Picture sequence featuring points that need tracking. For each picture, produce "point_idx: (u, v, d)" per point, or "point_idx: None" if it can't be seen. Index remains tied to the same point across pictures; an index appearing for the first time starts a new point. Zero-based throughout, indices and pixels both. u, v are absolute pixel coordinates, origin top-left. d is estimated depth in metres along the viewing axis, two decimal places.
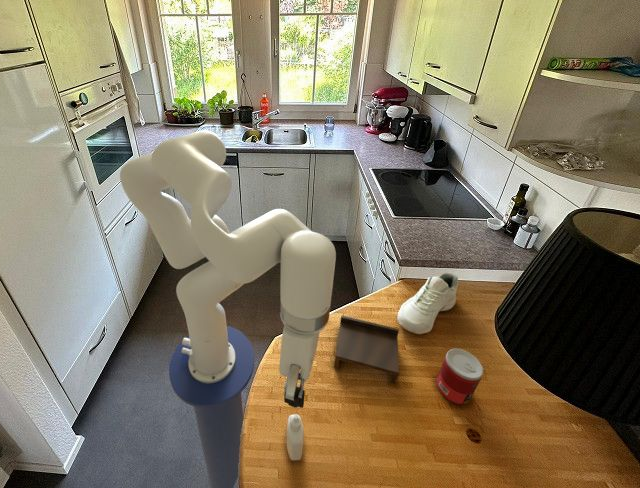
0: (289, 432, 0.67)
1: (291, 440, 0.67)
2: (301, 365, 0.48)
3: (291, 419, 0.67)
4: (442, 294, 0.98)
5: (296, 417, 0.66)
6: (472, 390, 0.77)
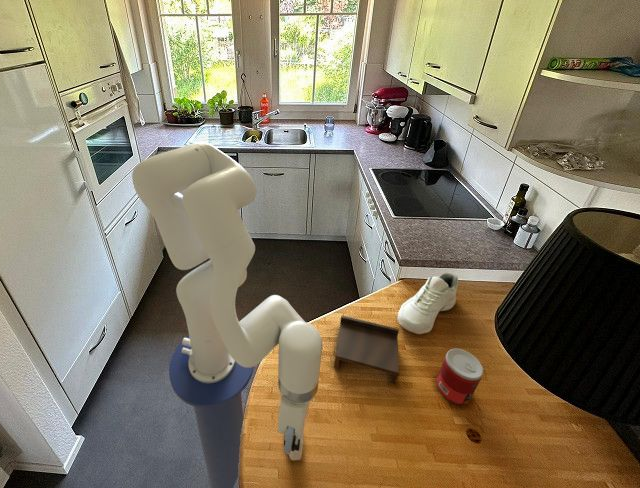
0: None
1: None
2: (295, 427, 0.59)
3: None
4: (442, 294, 0.98)
5: None
6: (472, 390, 0.77)
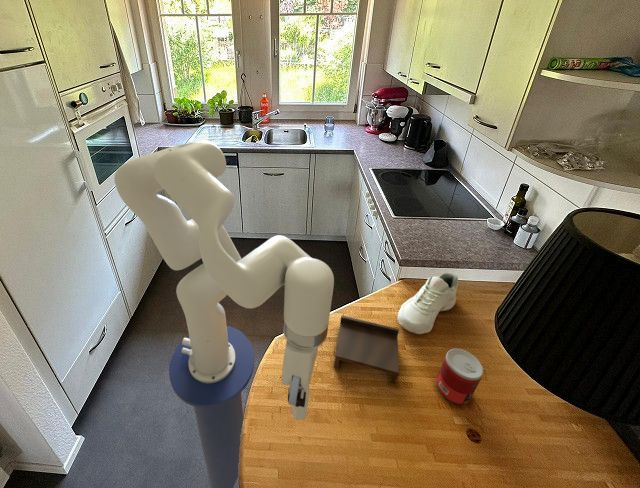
0: None
1: None
2: (301, 376, 0.53)
3: None
4: (443, 294, 0.98)
5: None
6: (472, 390, 0.77)
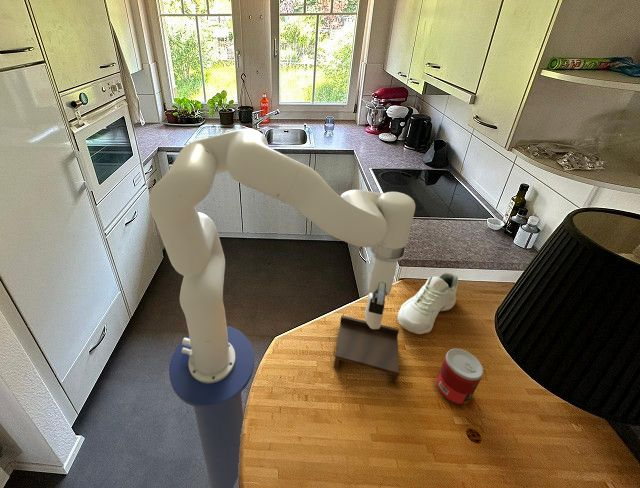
0: None
1: None
2: (386, 282, 0.71)
3: None
4: (443, 294, 0.98)
5: None
6: (472, 390, 0.77)
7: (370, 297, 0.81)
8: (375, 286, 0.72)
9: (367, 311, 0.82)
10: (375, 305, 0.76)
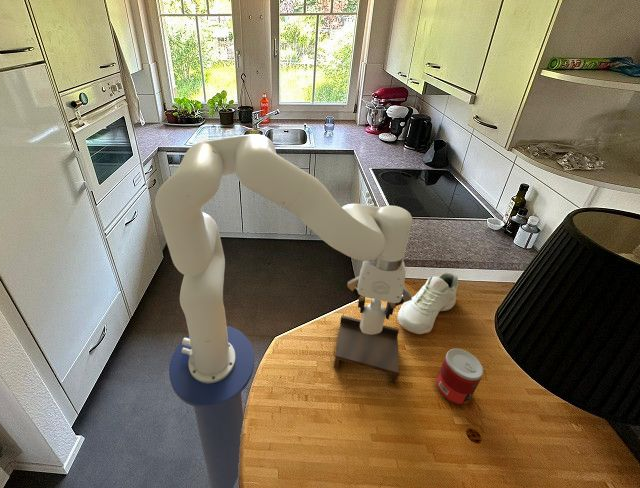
0: (380, 312, 0.81)
1: (384, 312, 0.82)
2: None
3: (377, 303, 0.80)
4: (443, 294, 0.98)
5: None
6: (472, 390, 0.77)
7: (374, 312, 0.81)
8: (402, 291, 0.76)
9: (374, 325, 0.83)
10: None
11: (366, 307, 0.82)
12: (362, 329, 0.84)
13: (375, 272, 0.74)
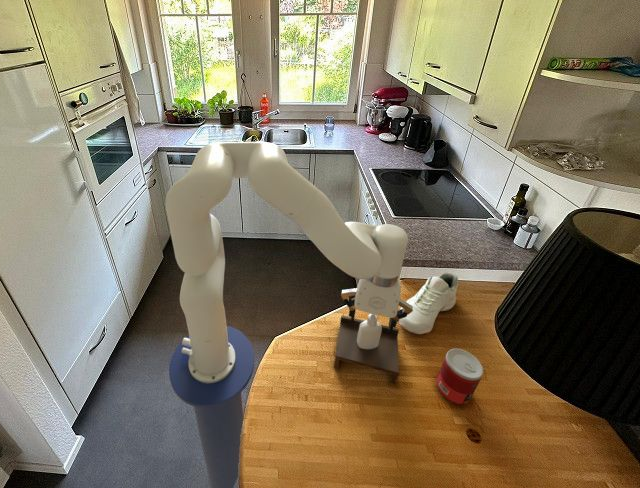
0: (376, 328, 0.84)
1: (380, 328, 0.84)
2: None
3: (373, 320, 0.83)
4: (443, 294, 0.98)
5: None
6: (472, 390, 0.77)
7: (371, 328, 0.84)
8: (398, 306, 0.78)
9: (370, 341, 0.86)
10: None
11: (363, 323, 0.85)
12: (359, 344, 0.87)
13: (372, 288, 0.76)
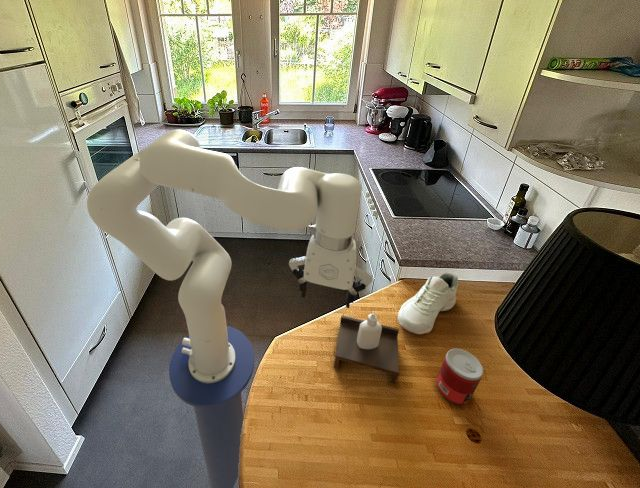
0: (376, 328, 0.84)
1: (380, 328, 0.84)
2: None
3: (373, 320, 0.83)
4: (443, 294, 0.98)
5: (373, 313, 0.83)
6: (472, 390, 0.77)
7: (371, 328, 0.84)
8: None
9: (370, 341, 0.86)
10: (354, 294, 0.68)
11: (363, 323, 0.85)
12: (359, 344, 0.87)
13: (321, 253, 0.63)
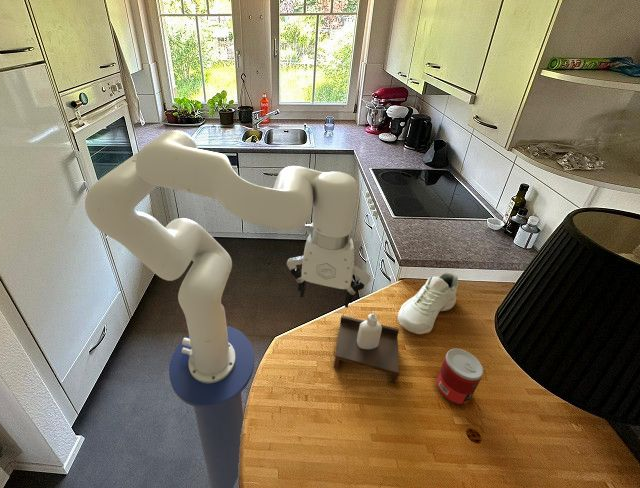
0: (376, 328, 0.84)
1: (380, 328, 0.84)
2: None
3: (373, 320, 0.83)
4: (443, 294, 0.98)
5: (373, 313, 0.83)
6: (472, 390, 0.77)
7: (371, 328, 0.84)
8: None
9: (370, 341, 0.86)
10: None
11: (363, 323, 0.85)
12: (359, 344, 0.87)
13: (318, 252, 0.62)
